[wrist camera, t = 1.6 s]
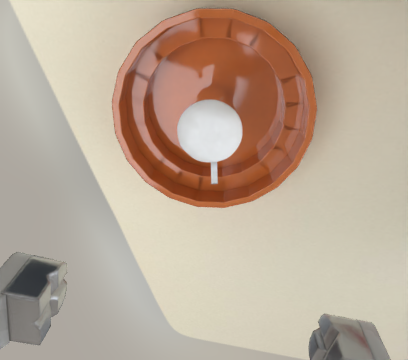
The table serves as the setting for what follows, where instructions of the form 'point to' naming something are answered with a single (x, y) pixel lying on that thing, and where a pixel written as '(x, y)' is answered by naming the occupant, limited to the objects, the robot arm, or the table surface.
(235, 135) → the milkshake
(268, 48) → the bowl
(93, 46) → the table surface
